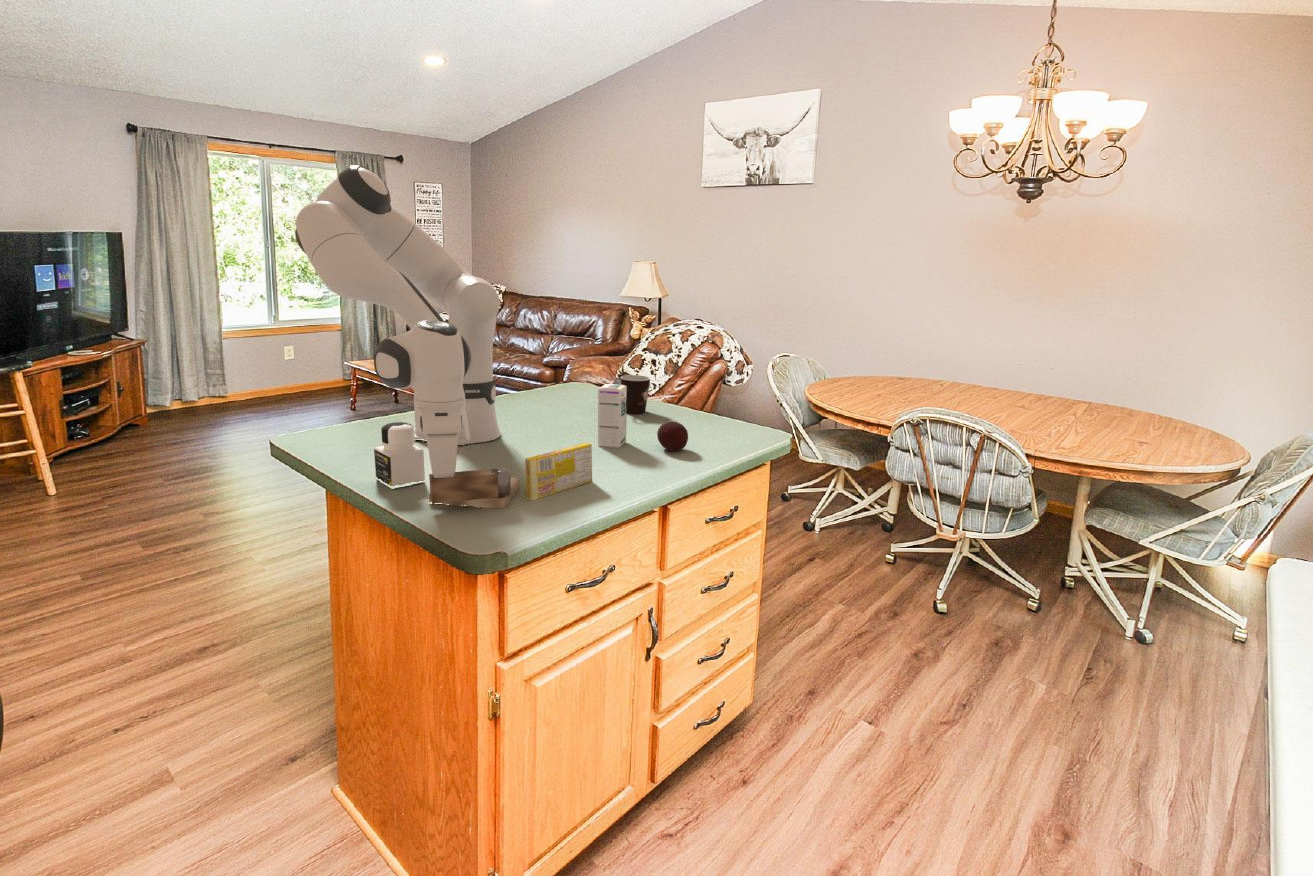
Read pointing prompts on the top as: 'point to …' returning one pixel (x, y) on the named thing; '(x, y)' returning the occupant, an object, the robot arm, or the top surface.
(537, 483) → the candy box
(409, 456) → the medicine bottle
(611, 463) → the top surface
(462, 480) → the folding leg
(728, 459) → the top surface
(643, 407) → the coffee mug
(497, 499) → the stool seat
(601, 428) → the syrup box
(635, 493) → the top surface
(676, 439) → the dark red plum
